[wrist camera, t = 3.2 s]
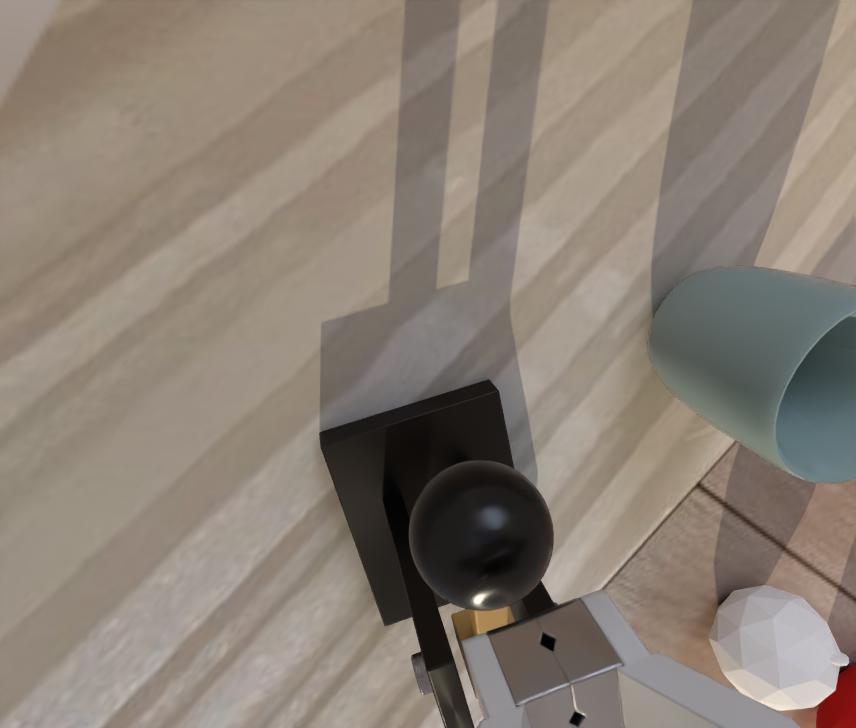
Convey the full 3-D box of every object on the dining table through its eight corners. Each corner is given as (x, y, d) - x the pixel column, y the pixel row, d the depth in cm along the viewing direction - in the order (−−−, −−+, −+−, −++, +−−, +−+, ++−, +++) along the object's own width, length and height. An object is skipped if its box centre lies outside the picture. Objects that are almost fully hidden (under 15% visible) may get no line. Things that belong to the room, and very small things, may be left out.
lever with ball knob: (382, 458, 14) (424, 601, 11) (519, 414, 14) (588, 543, 12) (435, 627, 23) (464, 723, 21) (515, 598, 24) (552, 689, 21)
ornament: (674, 601, 38) (802, 621, 31) (732, 568, 42) (856, 579, 35) (701, 711, 37) (839, 755, 30) (757, 666, 41) (889, 697, 34)
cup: (778, 284, 31) (983, 339, 22) (704, 407, 32) (865, 505, 23) (672, 228, 28) (855, 264, 19) (599, 365, 30) (734, 458, 21)
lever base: (319, 431, 28) (335, 609, 17) (489, 378, 29) (606, 514, 18) (381, 607, 32) (424, 833, 22) (525, 555, 33) (635, 746, 23)
